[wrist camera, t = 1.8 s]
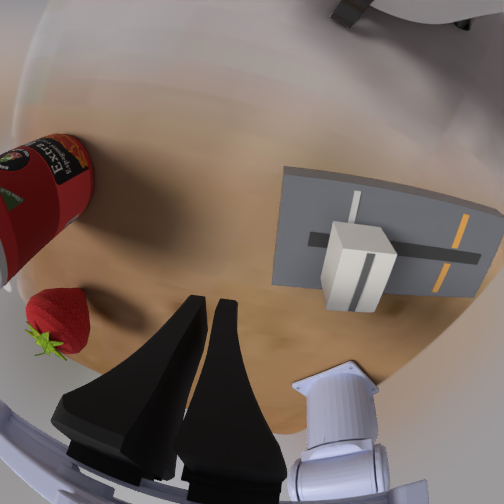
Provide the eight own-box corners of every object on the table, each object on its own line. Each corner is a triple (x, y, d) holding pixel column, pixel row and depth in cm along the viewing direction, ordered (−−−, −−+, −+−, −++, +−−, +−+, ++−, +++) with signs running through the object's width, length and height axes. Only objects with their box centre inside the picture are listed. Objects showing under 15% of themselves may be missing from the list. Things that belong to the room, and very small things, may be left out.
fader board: (496, 209, 16) (509, 220, 14) (464, 284, 20) (474, 298, 18) (283, 166, 17) (284, 175, 15) (272, 268, 21) (271, 285, 19)
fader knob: (375, 219, 16) (397, 255, 12) (360, 272, 18) (374, 313, 14) (330, 213, 16) (343, 249, 12) (318, 268, 18) (325, 311, 15)
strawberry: (57, 253, 23) (-1, 317, 15) (114, 291, 25) (65, 369, 16) (55, 287, 26) (9, 347, 18) (105, 321, 28) (66, 390, 19)
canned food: (106, 146, 17) (-9, 209, 8) (90, 230, 21) (11, 313, 12) (43, 121, 16) (-60, 164, 7) (34, 198, 20) (-44, 260, 11)
